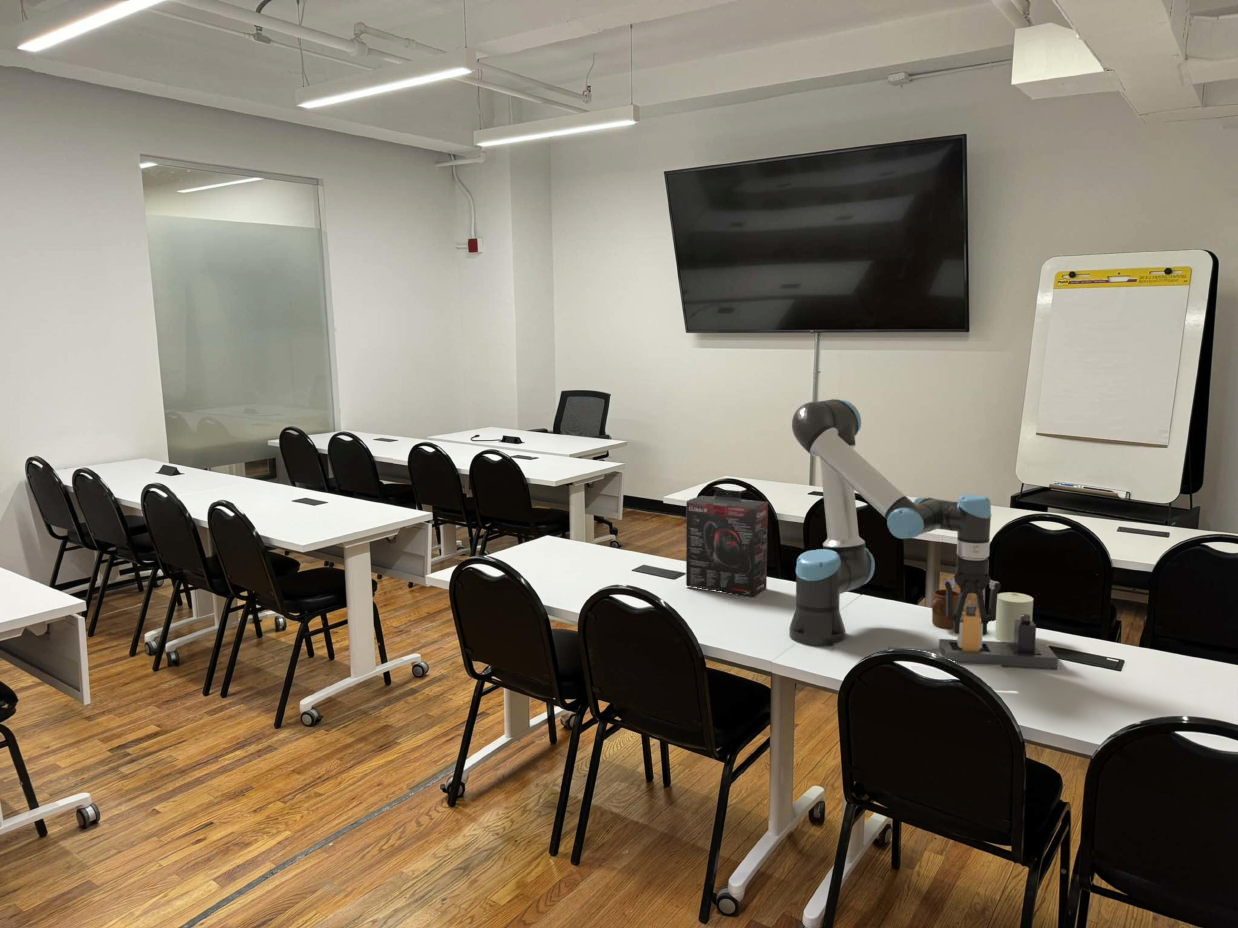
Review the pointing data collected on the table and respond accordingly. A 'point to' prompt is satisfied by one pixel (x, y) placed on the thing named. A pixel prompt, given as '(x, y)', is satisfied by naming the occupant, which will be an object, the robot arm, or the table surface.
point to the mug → (942, 609)
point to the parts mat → (916, 649)
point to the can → (1010, 613)
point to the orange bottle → (971, 629)
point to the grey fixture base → (1006, 650)
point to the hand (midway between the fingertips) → (969, 645)
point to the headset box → (726, 543)
